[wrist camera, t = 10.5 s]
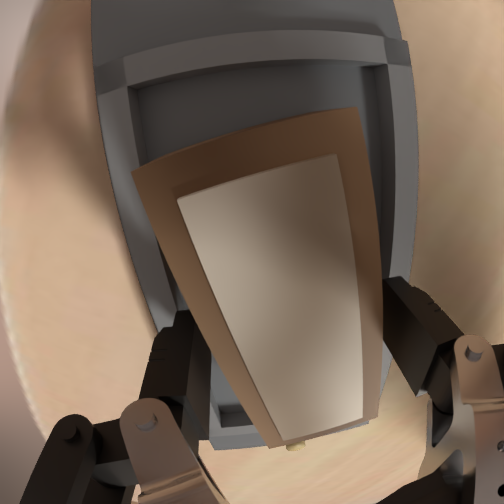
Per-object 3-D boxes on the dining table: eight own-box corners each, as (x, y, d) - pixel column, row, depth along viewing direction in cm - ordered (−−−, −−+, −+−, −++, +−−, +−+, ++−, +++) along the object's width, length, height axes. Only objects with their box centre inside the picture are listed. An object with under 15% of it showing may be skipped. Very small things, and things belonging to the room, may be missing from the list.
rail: (367, -21, 7) (396, -44, 5) (361, 408, 18) (373, 436, 16) (105, 1, 7) (78, -22, 4) (214, 433, 18) (214, 464, 15)
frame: (313, 111, 8) (361, 106, 5) (354, 364, 14) (378, 420, 10) (165, 154, 9) (127, 173, 5) (261, 391, 14) (269, 452, 10)
